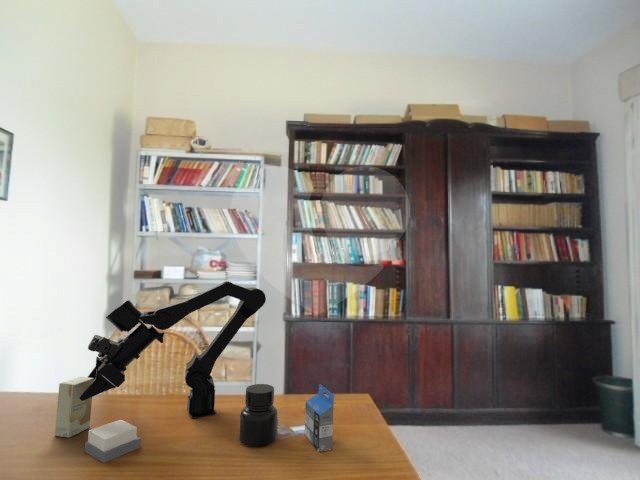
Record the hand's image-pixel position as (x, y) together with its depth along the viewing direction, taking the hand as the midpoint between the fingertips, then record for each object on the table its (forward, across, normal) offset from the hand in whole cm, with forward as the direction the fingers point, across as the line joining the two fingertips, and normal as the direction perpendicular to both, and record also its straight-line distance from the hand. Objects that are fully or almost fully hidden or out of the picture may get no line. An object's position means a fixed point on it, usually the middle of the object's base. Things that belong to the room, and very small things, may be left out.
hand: (81, 393), depth 90 cm
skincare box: (+7, 0, +6) cm, 9 cm away
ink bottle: (-20, +25, +32) cm, 45 cm away
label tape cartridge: (-28, +33, +41) cm, 60 cm away
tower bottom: (+2, +14, +12) cm, 18 cm away
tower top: (0, +14, +10) cm, 17 cm away
